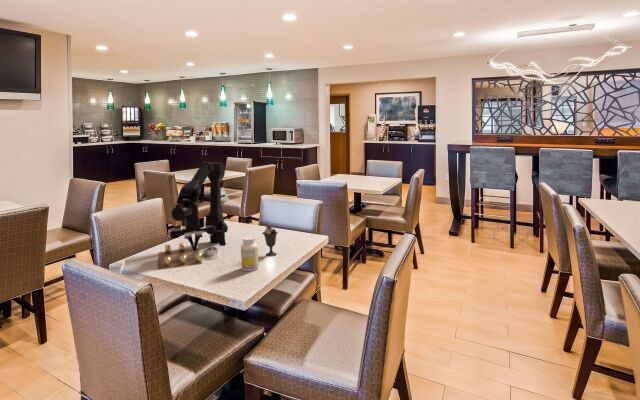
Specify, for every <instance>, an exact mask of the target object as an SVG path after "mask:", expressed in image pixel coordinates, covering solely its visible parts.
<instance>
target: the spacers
mask: <svg viewBox="0 0 640 400" xmlns="http://www.w3.org/2000/svg"><path fill="white" fill-rule="evenodd" d="M193 244H194V241H193ZM178 246H179V248H178V250H180V252H184V251H185V249H186V248H185V243H184V242H181V243H179V244H178ZM196 250H200V249H199V243H198V244H197V247H196ZM171 251H172V250H171V244H166V245H164V252H165V253H166V254H170V253H171ZM180 259H181V265H185V264H187V263H186V255H181V256H180ZM201 262H202V263H203V261H202V260H201V253H197V254H196V263H201ZM170 266H171V259H170V257H165V267H170Z"/></svg>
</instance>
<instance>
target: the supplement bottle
mask: <svg viewBox="0 0 640 400" xmlns="http://www.w3.org/2000/svg"><path fill="white" fill-rule="evenodd" d="M255 240H256V239H255V236H250V235H249V236H245V237H244V236H243V238H242V242H243V243H242V244H241V245H240V254H241V255H240V257H241V259H240V260H241V269H242V270H243V271H246V272H254V271H256V270H257V269H259V268H260V267H259V264H260V263H259V250H258V249H259V248H258V244H257V243H256V242H255Z"/></svg>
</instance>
